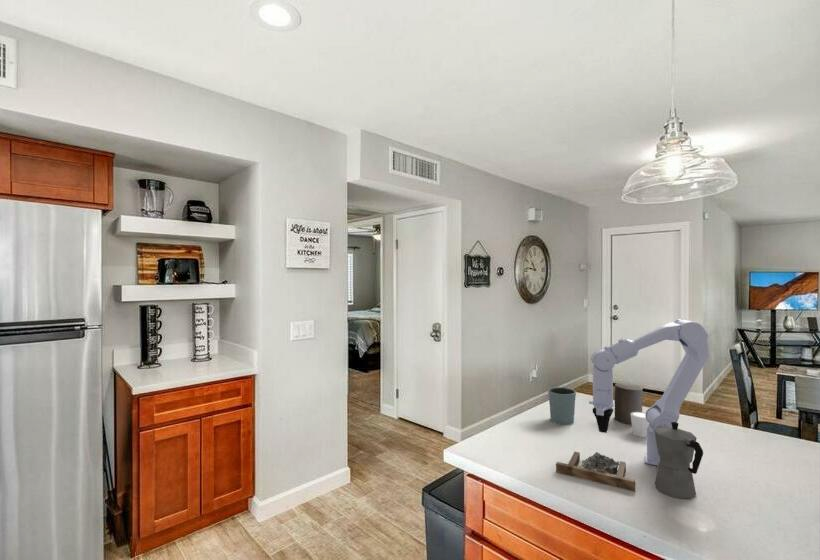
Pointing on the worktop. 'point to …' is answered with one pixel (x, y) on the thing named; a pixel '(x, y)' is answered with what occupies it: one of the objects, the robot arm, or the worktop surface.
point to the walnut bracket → (596, 473)
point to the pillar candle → (627, 401)
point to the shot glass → (639, 424)
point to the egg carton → (601, 463)
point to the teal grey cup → (562, 405)
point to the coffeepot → (676, 461)
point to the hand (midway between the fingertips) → (603, 431)
